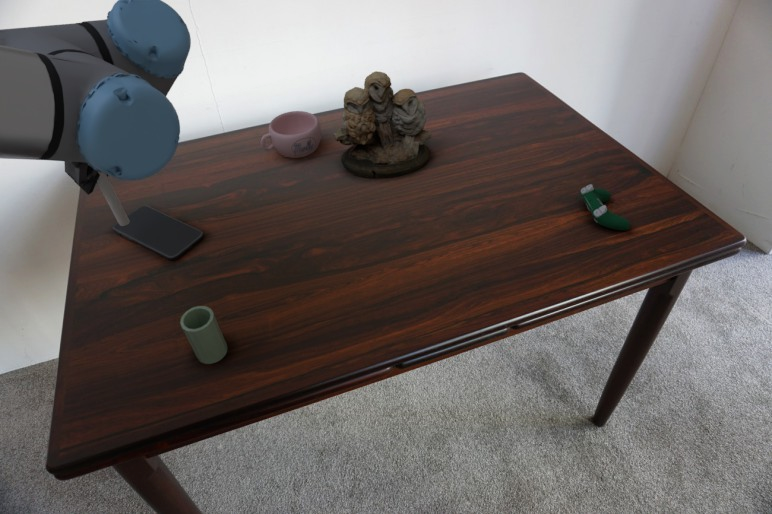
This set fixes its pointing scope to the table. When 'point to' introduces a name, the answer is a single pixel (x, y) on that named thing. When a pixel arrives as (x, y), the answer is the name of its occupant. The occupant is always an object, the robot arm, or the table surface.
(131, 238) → the smartphone
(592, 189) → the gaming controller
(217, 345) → the pen holder
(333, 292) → the table surface
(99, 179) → the stylus
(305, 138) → the mug
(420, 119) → the owl figurine
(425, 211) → the table surface
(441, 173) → the table surface
